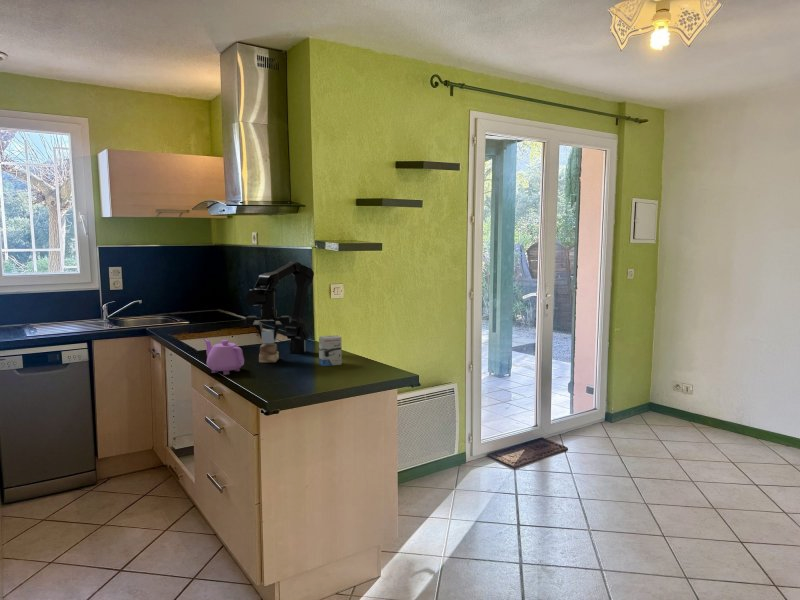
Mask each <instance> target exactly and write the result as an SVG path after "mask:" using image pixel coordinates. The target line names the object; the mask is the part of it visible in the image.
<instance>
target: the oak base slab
mask: <svg viewBox="0 0 800 600" xmlns="http://www.w3.org/2000/svg"><path fill="white" fill-rule="evenodd" d="M279 353H280V352H279V351H277V352H276V353H275V354H274V355H260V353H259V354H258V363H276V362H277V361H278V360H279Z"/></svg>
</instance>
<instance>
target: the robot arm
mask: <svg viewBox="0 0 800 600" xmlns="http://www.w3.org/2000/svg"><path fill="white" fill-rule="evenodd" d="M290 275H293V276H294V281H295V284H296V288H295V295H294V300H293V307H292V308H293V309H292V313H291V316H290V315H281V316H280V317H278V316H277V315H278V310H277V309H276V305H275V304H276V301H275V299H276V298H275V296H276V295H275V293H278V292H279V291H278V290H277V289H276V288H275V287H277V286H278V284H279V283H280V281H282V280H283V279H285V278H286V277H288V276H290ZM314 276H315V273H314V270H313V269H312V268H311V267H308V266H306V265H303V264H302V263H301V262H298V261H289V262H288V263H286V264H284V265H282V266H281V267H279V268H277V269H275V270H274V271H271V272H264V273H262V274H259V275H258V278H257V280H256V282H255V284H254V286H253V289H249V291H248V293H247V294H246V296H245V302H246V304H247V306H249V307H255V306H260V317H257V315H248V316H246V317H245V319H244V324H245V325H252V326H253V327H254V328H255V329H256V330H257V332H258V334H259V337H260V339H261V340H262V337H261V332H262V331H263V330H264V329H263V323H275V324H274V327H273V328H274V329H273V330H274V340H276V339H277V337H278V333H279V330H280V328H281V327H282V326H284V329H285V334H286V337H287V340H288V339H289V340H290V341H289V352H290V354H305V353H306V351H307V349H306V340H308V339H309V338H310V337H309V336H310V333H309V332H308V331H307V330H306V329H305V328H306V324H305V321H304V319H303V316H304V313H305V307H306V306H305V304H306V300H307V293H308V289H309V287H310V285H311V284H312V283H313V280H314Z"/></svg>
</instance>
